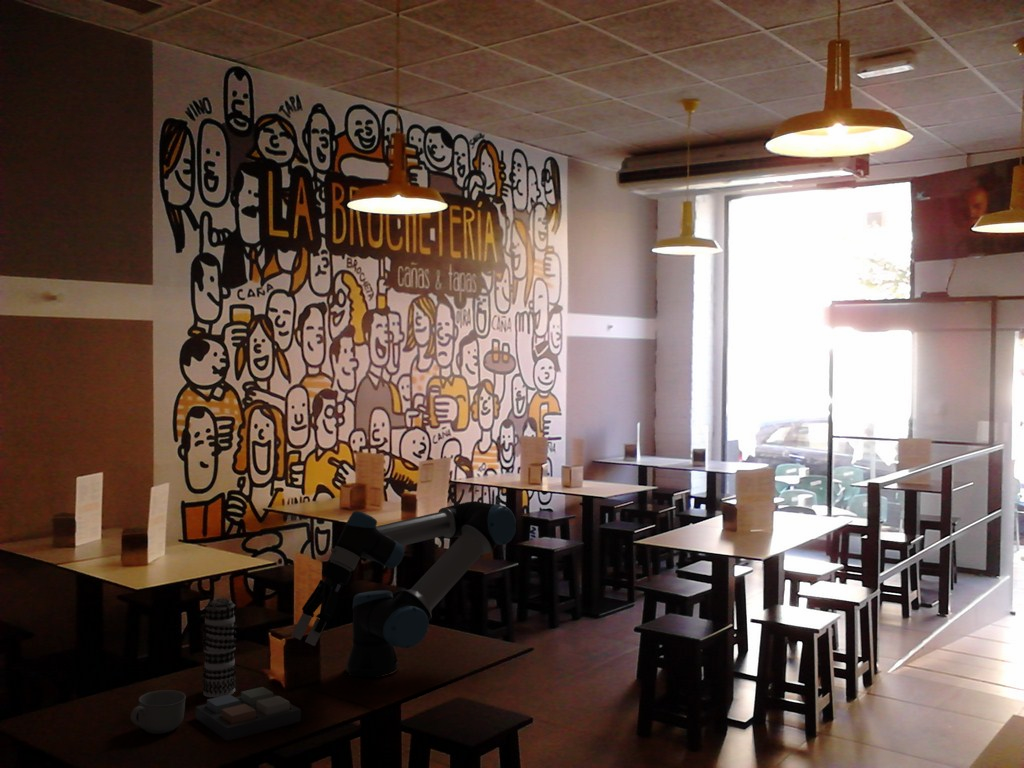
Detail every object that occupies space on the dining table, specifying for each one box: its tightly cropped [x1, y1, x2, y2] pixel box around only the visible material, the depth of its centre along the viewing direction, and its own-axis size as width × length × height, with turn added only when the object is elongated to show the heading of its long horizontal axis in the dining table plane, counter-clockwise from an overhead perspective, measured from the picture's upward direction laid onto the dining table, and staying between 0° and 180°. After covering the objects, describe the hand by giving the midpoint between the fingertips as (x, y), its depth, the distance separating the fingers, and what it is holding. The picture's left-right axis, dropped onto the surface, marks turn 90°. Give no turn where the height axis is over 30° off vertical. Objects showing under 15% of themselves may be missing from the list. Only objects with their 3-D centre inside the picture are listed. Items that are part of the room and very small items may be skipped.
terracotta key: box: [222, 704, 256, 725], centre depth 215 cm, size 6×6×3 cm
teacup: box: [130, 689, 187, 735], centre depth 213 cm, size 14×11×8 cm
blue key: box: [206, 694, 240, 714], centre depth 221 cm, size 6×6×3 cm
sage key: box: [240, 686, 274, 706], centre depth 227 cm, size 6×6×3 cm
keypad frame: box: [195, 693, 302, 742], centre depth 221 cm, size 19×19×3 cm
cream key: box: [256, 695, 291, 716], centre depth 220 cm, size 6×6×3 cm
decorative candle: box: [201, 598, 238, 699], centre depth 241 cm, size 9×9×25 cm
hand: (302, 641), depth 232 cm, fingers open, 13 cm apart
